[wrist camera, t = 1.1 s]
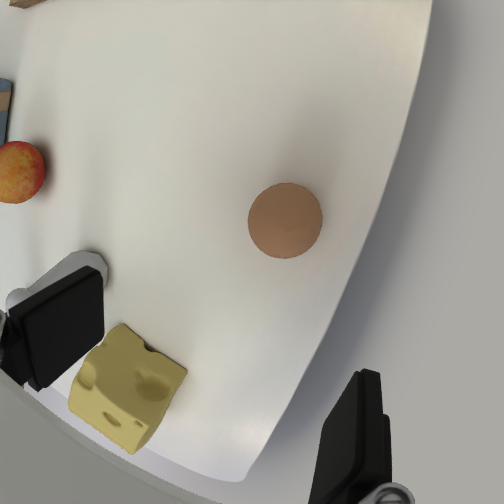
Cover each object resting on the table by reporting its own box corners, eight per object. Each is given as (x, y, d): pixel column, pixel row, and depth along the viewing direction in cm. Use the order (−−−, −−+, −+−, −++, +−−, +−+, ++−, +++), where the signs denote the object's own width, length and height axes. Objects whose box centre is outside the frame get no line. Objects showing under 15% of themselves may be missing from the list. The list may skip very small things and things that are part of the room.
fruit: (39, 123, 30) (-11, 128, 23) (64, 168, 31) (10, 180, 24) (17, 166, 33) (-28, 176, 26) (40, 209, 34) (-7, 225, 27)
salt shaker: (108, 299, 35) (32, 355, 23) (76, 273, 35) (-1, 319, 24) (119, 262, 33) (31, 315, 21) (84, 235, 33) (-4, 276, 21)
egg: (266, 174, 25) (235, 186, 18) (329, 184, 24) (324, 199, 17) (260, 234, 27) (229, 267, 20) (319, 245, 26) (310, 283, 19)
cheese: (121, 320, 35) (68, 365, 26) (194, 371, 35) (154, 430, 26) (107, 366, 40) (65, 408, 31) (169, 411, 39) (134, 461, 30)
